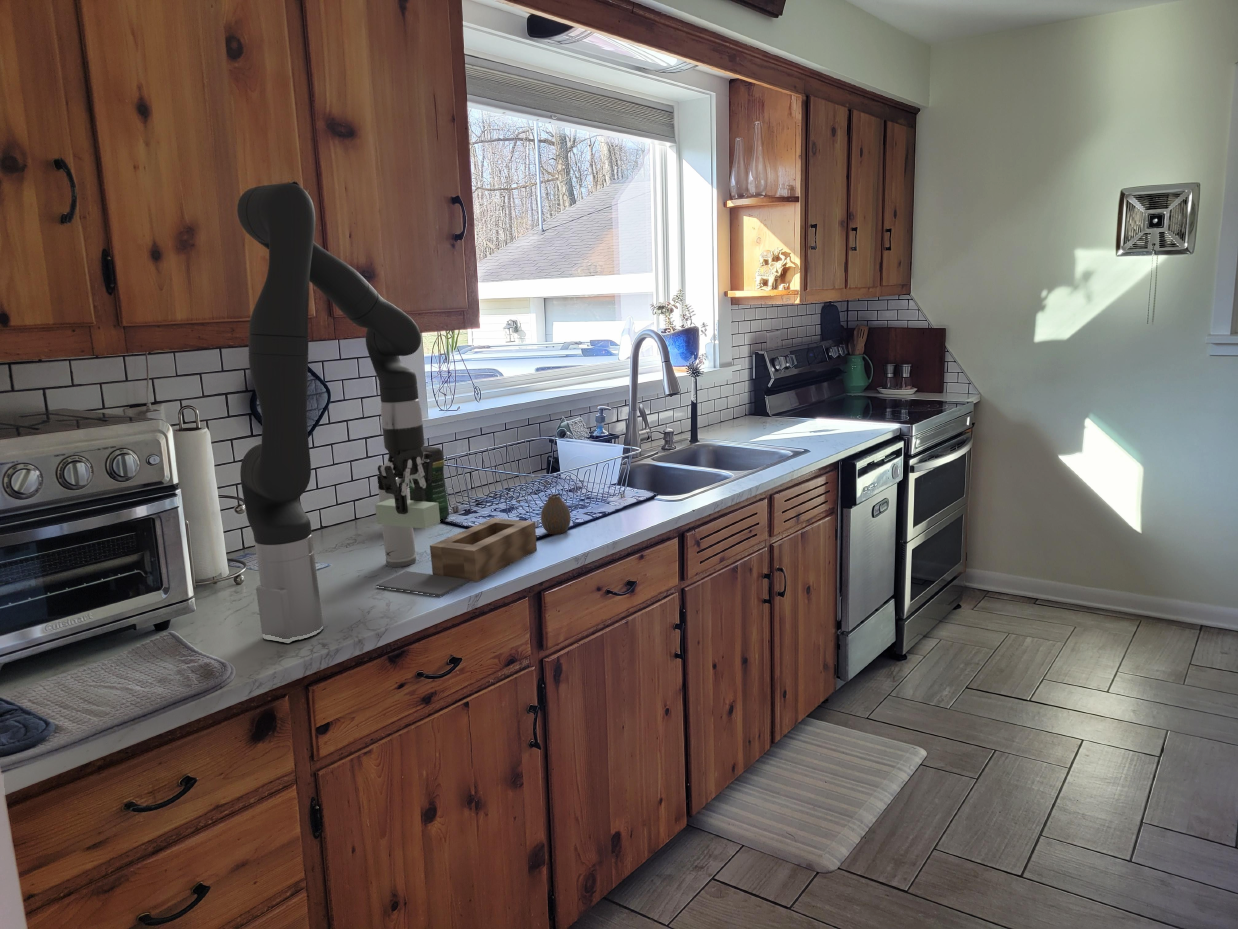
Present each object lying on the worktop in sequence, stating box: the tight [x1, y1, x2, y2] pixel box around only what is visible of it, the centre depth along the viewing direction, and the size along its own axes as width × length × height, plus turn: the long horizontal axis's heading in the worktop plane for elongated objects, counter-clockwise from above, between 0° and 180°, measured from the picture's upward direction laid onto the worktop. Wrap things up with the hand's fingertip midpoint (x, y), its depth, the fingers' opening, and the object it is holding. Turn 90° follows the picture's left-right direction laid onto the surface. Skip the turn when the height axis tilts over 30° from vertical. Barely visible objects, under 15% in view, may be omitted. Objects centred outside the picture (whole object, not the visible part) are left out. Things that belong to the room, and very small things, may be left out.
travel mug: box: [376, 474, 417, 568], centre depth 194 cm, size 6×7×20 cm
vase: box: [540, 494, 571, 535], centre depth 213 cm, size 7×7×9 cm
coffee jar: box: [408, 445, 450, 521], centre depth 231 cm, size 10×8×19 cm
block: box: [374, 499, 441, 530], centre depth 179 cm, size 12×4×4 cm, turn 62°
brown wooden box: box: [429, 517, 538, 583], centre depth 193 cm, size 22×11×6 cm, turn 152°
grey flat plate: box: [375, 570, 470, 597], centre depth 181 cm, size 9×16×1 cm, turn 62°
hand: (411, 509), depth 179 cm, fingers closed on block, 4 cm apart
